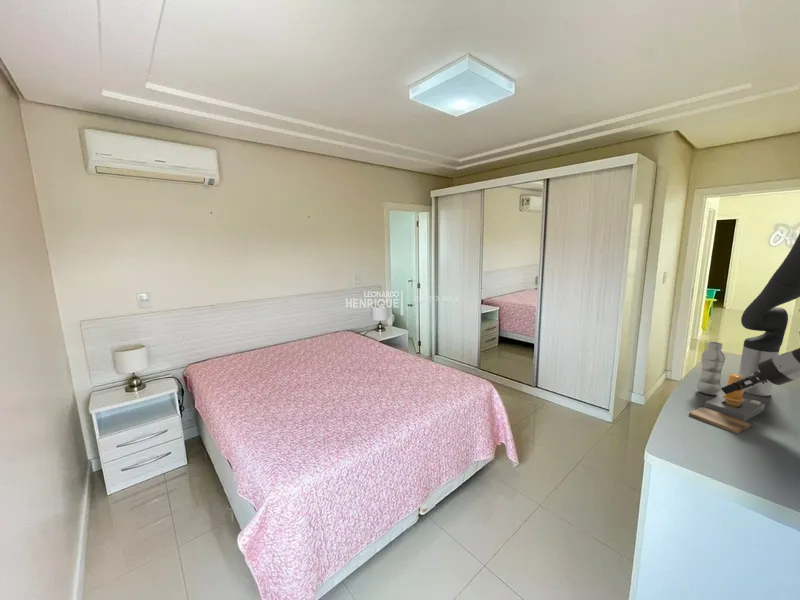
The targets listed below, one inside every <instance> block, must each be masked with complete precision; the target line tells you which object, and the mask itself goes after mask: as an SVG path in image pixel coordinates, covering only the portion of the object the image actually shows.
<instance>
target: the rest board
mask: <svg viewBox="0 0 800 600" xmlns="http://www.w3.org/2000/svg"><path fill="white" fill-rule="evenodd" d="M688 416H689V417H692V418H694V419H697V420H700V421H703V422H706V423H708V424H711V425H713V426H716V427H719V428H721V429H724V430H726V431H730V432H732V433H735V434H739V433H742V432H743V431H744V430H746V429H748V428H749V427H751V422H749V421H748V422H747V421H742V420H739V419H737V418H734V417H731V416H728V415H725V414H722V413H719V412H716V411H713V410H710V409H707V408H704V406H700V407H698V408H697V409H694V410H691V411H690V412H689V413H688Z"/></svg>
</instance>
